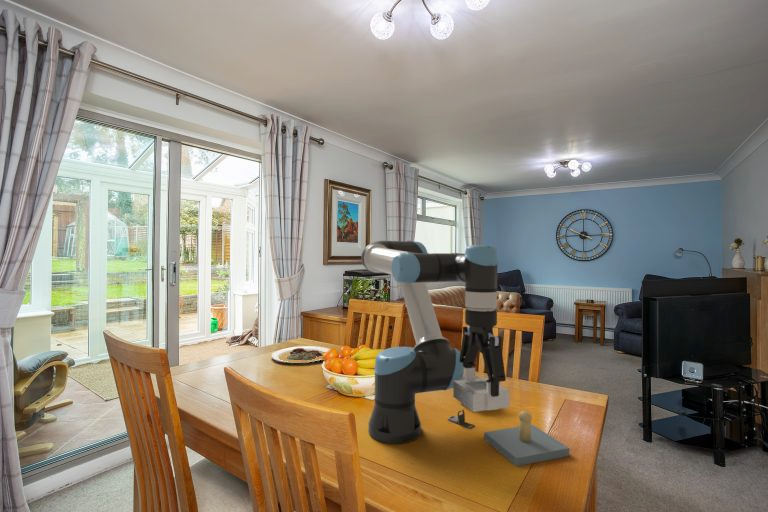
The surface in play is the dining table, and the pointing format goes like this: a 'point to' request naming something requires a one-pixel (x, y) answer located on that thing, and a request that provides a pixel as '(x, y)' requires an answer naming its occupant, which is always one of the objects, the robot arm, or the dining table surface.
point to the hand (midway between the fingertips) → (480, 400)
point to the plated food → (300, 353)
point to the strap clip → (460, 420)
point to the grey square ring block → (477, 394)
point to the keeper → (525, 443)
